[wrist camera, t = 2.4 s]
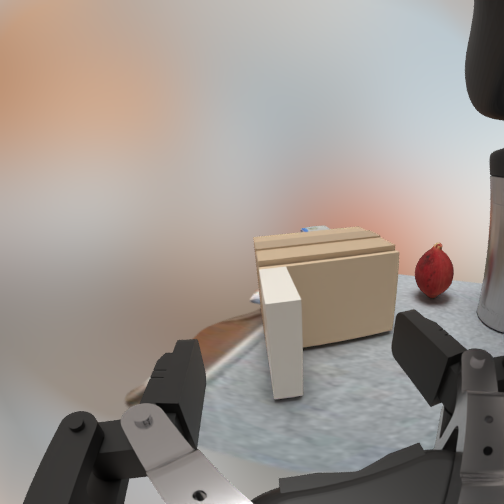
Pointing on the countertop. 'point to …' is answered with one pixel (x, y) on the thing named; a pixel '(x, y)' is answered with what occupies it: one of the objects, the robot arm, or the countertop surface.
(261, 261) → the kraft carton
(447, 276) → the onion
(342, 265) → the carton flap
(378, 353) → the countertop surface
